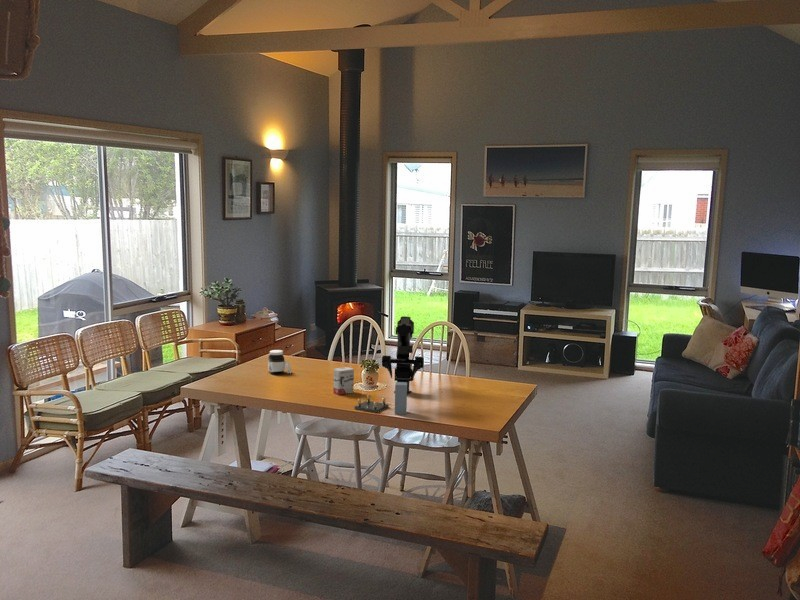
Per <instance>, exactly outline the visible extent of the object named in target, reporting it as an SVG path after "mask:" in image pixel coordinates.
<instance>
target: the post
mask: <svg viewBox="0 0 800 600" xmlns="http://www.w3.org/2000/svg"><path fill="white" fill-rule="evenodd" d="M394 386H395V387H394V391H395V393H394V415H400V416H401V415H402V416H404V415H405V416H407V410H408V409H407V408H408V407H407V405H408V404H407V403H408V401H407V400H408V394H407V382H397V381H395V385H394Z"/></svg>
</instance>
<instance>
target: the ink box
mask: <svg viewBox="0 0 800 600" xmlns="http://www.w3.org/2000/svg"><path fill="white" fill-rule="evenodd" d="M354 377H355V369H354V368H352V367H349V366H345V367H336V368H334V369H333V393H334V394H336V395H338V396H341V394H342V395H348V394H354V383H355V382H354V380H355V378H354ZM347 393H348V394H347Z"/></svg>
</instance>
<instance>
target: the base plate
mask: <svg viewBox="0 0 800 600" xmlns="http://www.w3.org/2000/svg"><path fill="white" fill-rule="evenodd" d="M370 397H371V395H370V394H367V395H366V400H365V401H364V402H362V403H361V400H362V399H360V398H358V399H357V405H354V410H357V411H362V410H363V411H364V412H367V411H370V412H369V413H373V412H376V413H375V414H377V412H378V411H379V412H381V411H383V410H385V409H387V408H389V404H388V403H386V397H382V402H377V401H372V400H371V398H370ZM382 409H383V410H382ZM380 410H381V411H380ZM379 412H378V413H379Z"/></svg>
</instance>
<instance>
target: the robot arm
mask: <svg viewBox="0 0 800 600" xmlns="http://www.w3.org/2000/svg"><path fill="white" fill-rule="evenodd" d="M414 332H415V322H414V321H413V320H412V319H411V316H405V315H403V316H400V318H399V320H397V324H396V328H395V335H397V337H396V339H397V344H396V345H397V347H396V354H395V355H396V358H392V356H391V355H381V367H383V368H385V369H387V371H388V374H389V376H390V379H392V378H393V367H392V364H396V365H395V368H394V382H407V395H408V394H411V393H412V392H413V391H412V390H410V382H412V381H414V379H415V378H414V377H415V375H416V374H417V372H418V371H419V370H421V369H424V363H425V361H424V359H425V358H424V357H423V356H414V359H410V354H413V352H414V351H413V348H414V347H413V346H414V345H412V344H411V339H412V338H413V335H414ZM412 365H413V367H412ZM393 393H394V394H395V390H394V391H393Z"/></svg>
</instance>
